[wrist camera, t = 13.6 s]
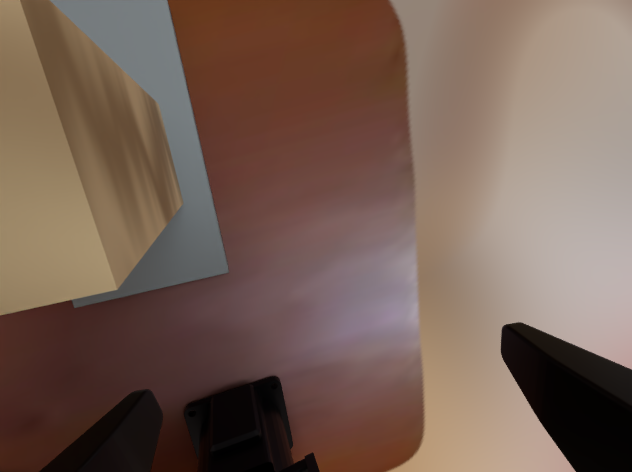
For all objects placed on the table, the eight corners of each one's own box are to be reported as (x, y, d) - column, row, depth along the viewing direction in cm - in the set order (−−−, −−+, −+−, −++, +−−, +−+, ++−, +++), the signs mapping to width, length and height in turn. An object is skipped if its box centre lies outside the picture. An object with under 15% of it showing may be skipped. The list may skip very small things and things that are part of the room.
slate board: (228, 266, 19) (228, 272, 18) (83, 298, 17) (74, 308, 16) (169, 8, 16) (166, -3, 14) (-25, 12, 14) (-47, -2, 12)
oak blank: (183, 203, 17) (117, 289, 6) (77, 220, 15) (-278, 376, 4) (158, 104, 15) (5, -42, 4) (40, 114, 14) (-623, -56, 3)
